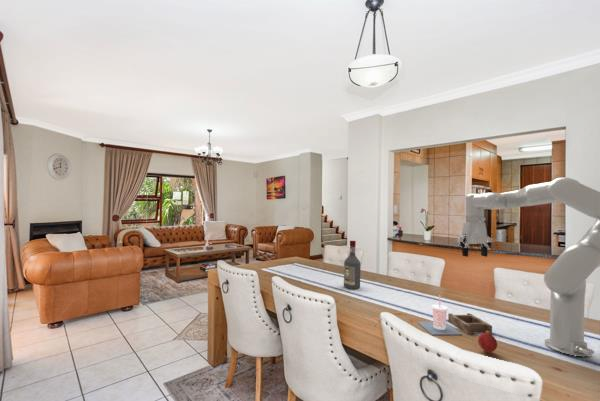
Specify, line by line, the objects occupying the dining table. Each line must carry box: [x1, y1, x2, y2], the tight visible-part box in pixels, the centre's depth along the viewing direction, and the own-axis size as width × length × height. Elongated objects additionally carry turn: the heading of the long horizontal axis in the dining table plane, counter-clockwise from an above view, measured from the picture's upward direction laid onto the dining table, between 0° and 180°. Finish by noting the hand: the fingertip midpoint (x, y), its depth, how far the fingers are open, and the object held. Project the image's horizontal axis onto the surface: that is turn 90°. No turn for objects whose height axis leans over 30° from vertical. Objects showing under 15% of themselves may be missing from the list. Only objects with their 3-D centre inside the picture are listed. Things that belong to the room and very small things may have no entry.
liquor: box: [343, 240, 361, 290], centre depth 188 cm, size 9×9×30 cm
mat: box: [416, 321, 463, 336], centre depth 126 cm, size 13×13×1 cm
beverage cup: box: [431, 294, 448, 330], centre depth 126 cm, size 6×6×14 cm
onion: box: [477, 331, 498, 354], centre depth 106 cm, size 6×6×8 cm
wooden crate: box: [447, 312, 493, 335], centre depth 128 cm, size 14×11×4 cm
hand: (474, 256), depth 137 cm, fingers open, 9 cm apart
